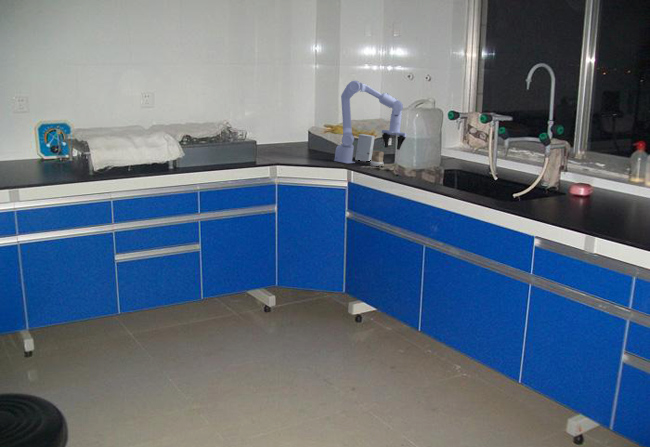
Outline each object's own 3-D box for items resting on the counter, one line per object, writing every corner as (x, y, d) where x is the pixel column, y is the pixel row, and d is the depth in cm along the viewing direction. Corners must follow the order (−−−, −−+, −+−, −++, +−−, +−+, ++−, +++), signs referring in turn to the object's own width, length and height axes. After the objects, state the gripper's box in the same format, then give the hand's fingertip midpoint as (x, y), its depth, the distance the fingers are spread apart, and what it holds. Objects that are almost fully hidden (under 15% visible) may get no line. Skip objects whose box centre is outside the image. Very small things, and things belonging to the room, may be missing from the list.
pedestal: (367, 165, 372) (368, 160, 371) (375, 164, 377) (375, 160, 377) (378, 167, 368) (378, 162, 367) (385, 166, 373) (386, 162, 372)
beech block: (371, 160, 371) (372, 150, 370) (375, 160, 375) (376, 150, 374) (378, 162, 369) (379, 152, 367) (382, 161, 372) (383, 151, 371)
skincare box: (354, 160, 388) (357, 134, 384) (358, 159, 393) (361, 133, 390) (369, 162, 385) (372, 135, 382) (372, 161, 391) (375, 135, 387)
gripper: (380, 121, 367) (377, 146, 370) (403, 125, 359) (400, 150, 362) (386, 121, 373) (383, 146, 376) (409, 125, 365) (406, 150, 368)
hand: (392, 148), depth 369 cm, fingers open, 7 cm apart
